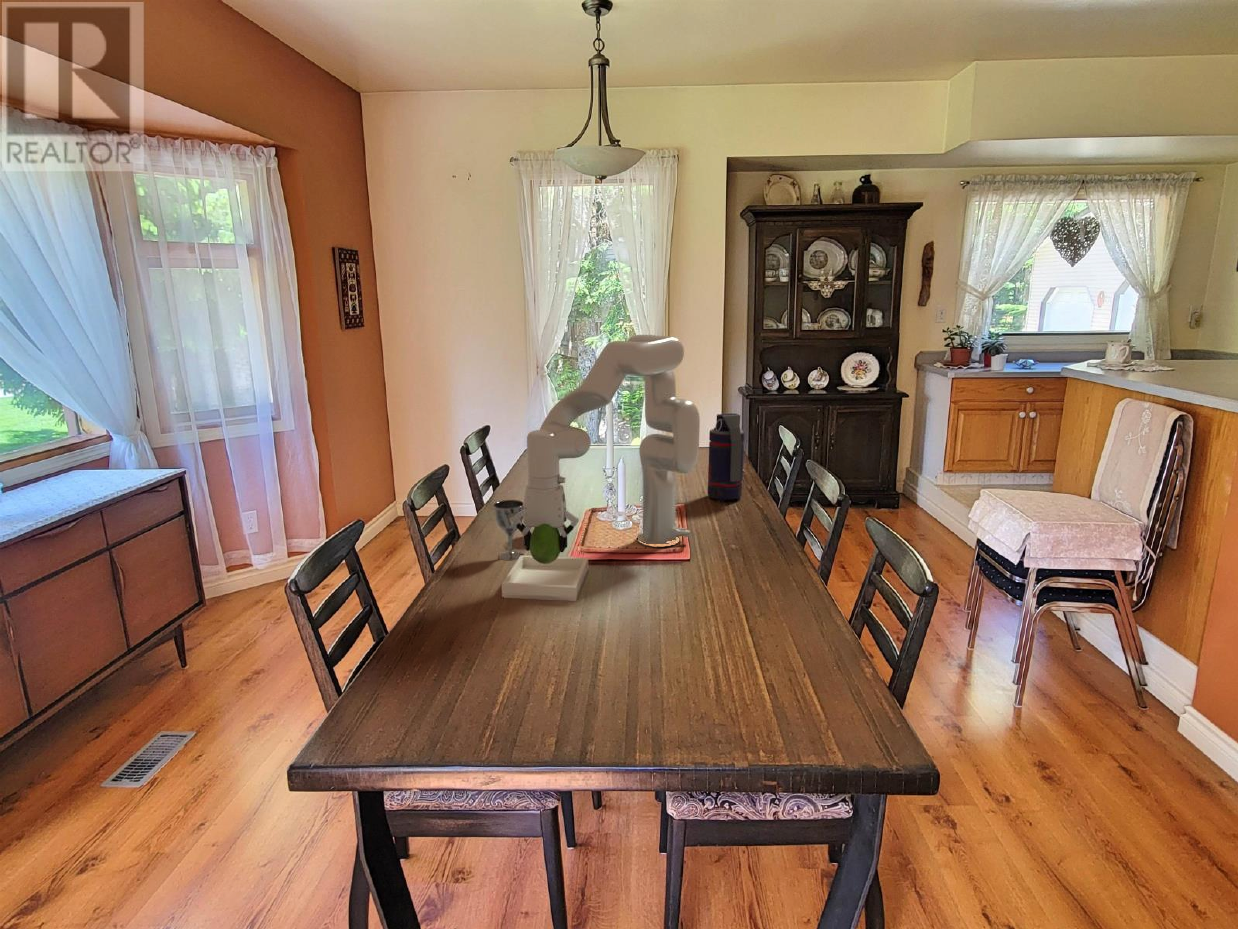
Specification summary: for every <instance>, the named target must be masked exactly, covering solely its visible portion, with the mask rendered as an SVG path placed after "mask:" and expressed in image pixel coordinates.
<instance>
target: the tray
mask: <svg viewBox="0 0 1238 929" xmlns="http://www.w3.org/2000/svg"><path fill="white" fill-rule="evenodd" d="M588 573H589V558H588V557H570V556H569V557H568V556H567V557H566V556H565V557H564V556H558V558H557V559H556V560H554V561H553V562H551V563H548V564H542V563H539V562H537V561H536V560H535V559H534V558H533V557H532V555H525V554H524V555H521V556H520V557H519V559H517V560H516V562H515V563H514V565H513V566H512V568H510V570H509V572H508V574H507V575H506V577H505V578H504V580H503V581H502V583H501V597H504V599H525V600H543V601H545V600H546V601H561V602H562V601H563V602H564V601H565V602H566V601H567V602H577V600H578V597H579V595H580V593H581V590H582V587H583V585H584V582H585V580H586V577H587V575H588Z"/></svg>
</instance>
